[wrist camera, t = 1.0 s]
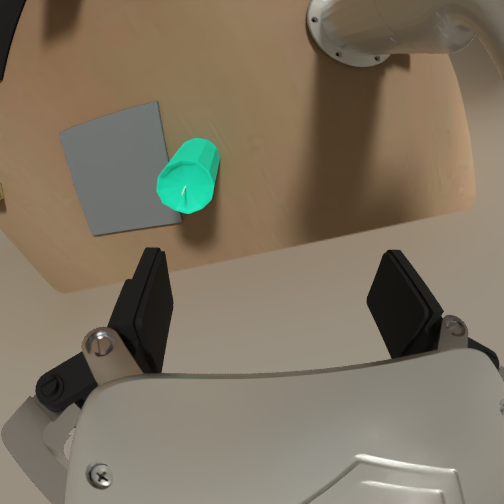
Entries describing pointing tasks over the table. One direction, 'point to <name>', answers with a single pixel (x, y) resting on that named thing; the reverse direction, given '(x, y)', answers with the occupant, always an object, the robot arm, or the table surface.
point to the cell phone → (8, 27)
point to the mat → (120, 169)
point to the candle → (189, 176)
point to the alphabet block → (1, 193)
